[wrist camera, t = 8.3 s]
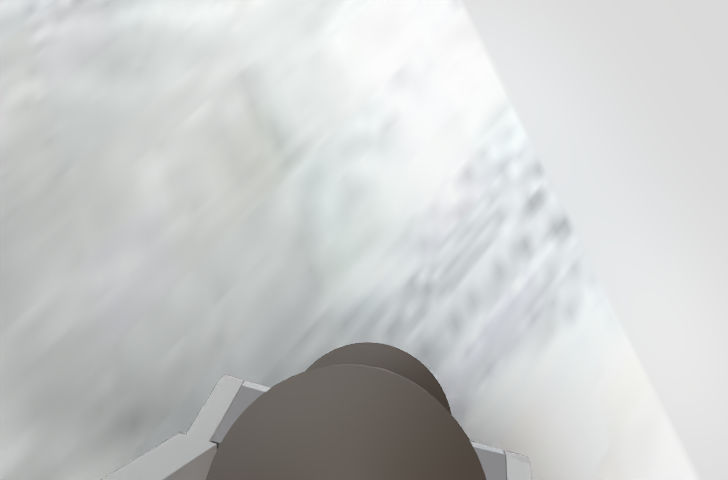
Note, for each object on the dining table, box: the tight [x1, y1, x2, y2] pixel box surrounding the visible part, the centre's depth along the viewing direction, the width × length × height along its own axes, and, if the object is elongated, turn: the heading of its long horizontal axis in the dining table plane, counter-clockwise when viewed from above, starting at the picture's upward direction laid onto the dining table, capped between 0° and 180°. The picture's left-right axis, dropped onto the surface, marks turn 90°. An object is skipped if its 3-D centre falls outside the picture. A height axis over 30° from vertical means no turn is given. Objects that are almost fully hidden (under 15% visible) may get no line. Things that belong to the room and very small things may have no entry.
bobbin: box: [206, 343, 486, 480], centre depth 11 cm, size 5×5×9 cm
